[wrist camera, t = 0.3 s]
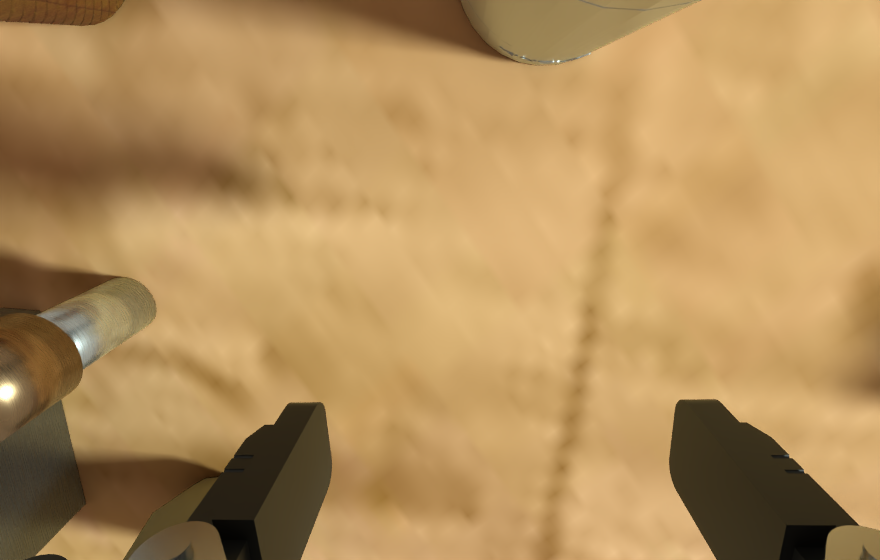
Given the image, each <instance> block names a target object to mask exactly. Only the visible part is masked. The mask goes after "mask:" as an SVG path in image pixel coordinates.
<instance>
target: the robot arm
mask: <svg viewBox="0 0 880 560" xmlns="http://www.w3.org/2000/svg"><path fill="white" fill-rule="evenodd" d="M699 1H701V0H461V3H462V6H463V9H464V11H465V13H466V15H467V17H468V19H469V21H470V22H471V24H472V26H473V28H474V29H475V30H476V31H477V33H478V34H479V35H480V36H481V37H482V38H483V40H484V41H485V42H486V43H487V44H488V45H490V46H491V47H492V48H494V49H495V50H496V51H498V52H499V53H500V54H502V55H504V56H506V57H509V58H511V59H513V60H515V61H518V62H521V63H527V64H532V65H557V64H560V63H564V62H568V61H572V60H575V59H578V58H581V57H583V56H586V55H588V54H591V52H592V51H594V50H597V49H599V48H601V47H603V46H606V45H608V44H610V43H612V42H614V41H616V40H618V39H620V38H623V37H625V36H627V35H629V34H631V33H633V32H635V31H637V30H639V29H642V28H644V27H646V26H648V25H650V24H652V23H654V22H656V21H659V20H661V19H663V18H665V17H667V16H669V15H671V14H673V13H675V12H678V11H680V10H682V9H684V8H686V7H688V6H690V5H692V4H694V3H697V2H699ZM669 466H670V474H671V478H672V481H673V484H674V487H675V489H676V491H677V493H678V494H679V496H680V498H681V499H682V501H683V503H684V504H685V506H686V508H687V510H688V511H689V513H690V515H691V516H692V518H693V520H694V522H695V523H696V525H697V527H698V528H699V530H700V532H701V534H702V535H703V537H704V539H705V540H706V542H707V544H708V545H709V547H710V549H711V551H712V552H713V554H714V556H715V557H716V559H717V560H880V531H879V530H876V529H872V528H868V527H863V526H859V525H858V524H857V523H856V522H855V521H854V520H853V519H852V518H851V517H850V516H849V515H848V514H847V513H846V512H845V511H844V510H843V509H842V508H841V507H840V506H839V505H838V504H837V503H836V502H835V501H834V500H833V499H832V498H831V497H830V496H829V495H828V494H827V493H826V492H825V491H824V490H823V489H822V488H821V487H820V486H819V485H818V484H817V483H816V482H815V481H814V480H813V479H812V478H811V477H810V475H809V474H805V473H804V469H803V468H802V467H801V466H800V465H799V464H798V463H797V462H796V461H795V460H794V459H793V458H789V454H788V453H787V452H786V451H785V450H784V449H783V448H782V447H781V446H780V445H779V444H778V443H777V442H776V441H775V440H774V439H773V438H772V437H770V436H768V435H767V434H765V433H763V432H762V431H760V430H758V429H757V428H755V427H753V426H751V425H750V424H748V423H740V422H739V421H738V420H737V419H736V418H735V417H734V416H733V415H732V414H731V413H730V412H729V411H728V410H727V409H726V407H725V406H724V405H723V404H722V403H721V402H720V401H718V400H715V399H707V400H679V401H678V402H677V404H676V407H675V414H674V423H673V431H672V440H671V449H670V457H669ZM331 472H332V458H331V450H330V442H329V435H328V427H327V420H326V412H325V408H324V405H323V404H322V403H321V402H313V403H289V404H287V406H286V407H285V409H284V410H283V412H282V413H281V415H280V416H279V418H278V419H277V421H276V422H275V424H274V425H264V426H263V427H261V428H260V429H259V430H257V431H256V432H255V433H253V434H252V435H250V436H249V437H248V438H246V440H245V441H244V442H243V444H242V445H241V447H240V448H239V449H238V451H237V452H236V453H235V455H234V458H232V459H231V460H230V462H229V463H228V465H227V466H226V467H225V470H224V472H222V473H221V474H220V476H219V477H218V478H217V480H216V481H215V483H214V484H213V485H212V487H211V488H210V490H209V491H208V492H207V494H206V495H205V497H204V498H203V499H202V501H201V502H200V504H199V505H198V506H197V508H196V509H195V510H194V512H193V513H192V515H191V516H190V517H189V519H188V520H187V522H184V523H180V524H176V525H173V526H171V527H168V528H166V529H164V530H162V531H160V532H158V533H157V534H155V535H153V536H152V537H150V538H149V539H147V540H146V541H145V542H144V543H143V544H141V545H140V546H139V547H138V548H137V549H136V550H135V551H134V552H133V554H132V555H131V556H130V558H129V559H128V560H301V557H302V554H303V552H304V549H305V547H306V544H307V542H308V539H309V536H310V534H311V531H312V529H313V526H314V524H315V521H316V518H317V516H318V513H319V511H320V508H321V506H322V503H323V500H324V498H325V495H326V493H327V490H328V487H329V484H330V479H331ZM25 560H67V559H66V558H64V557H62V556H60V555H55V554H47V555H39V556H35V557H31V558H28V559H25Z"/></svg>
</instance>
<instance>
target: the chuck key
mask: <svg viewBox="0 0 880 560" xmlns="http://www.w3.org/2000/svg"><path fill="white" fill-rule="evenodd" d="M155 316H156V303H155V300H154V298H153V296H152V294H151V293H150V292H149V290H148V289H147V288H146V287H145V286H144V285H142V284H141V283H139V282H138V281H136V280H133V279H130V278H125V277H118V278H114V279H111V280H109V281H107V282H105V283H103V284H101V285H99V286H96V287H94V288H92V289H90V290H88V291H86V292H84V293H82V294H80V295H77V296H75V297H73V298H71V299H69V300H67V301H65V302H63V303H61V304H58V305H56V306H54V307H52V308H50V309H48V310H46V311H44V312H42V313H39V314H37V315H33V314H27V313H13V314H9V315H5V316H3V317H1V318H0V442H2V441H3V440H5V439H6V438H7V437H9V436H10V435H12V434H13V433H14V432H16V431H17V430H19V429H20V428H22V427H23V426H24V425H26V424H27V423H29V422H30V421H31V420H33V419H34V418H36V417H37V416H38V415H40V414H41V413H43V412H44V411H45V410H47V409H48V408H50V407H51V406H52V405H54V404H55V403H57V402H58V401H59V400H61V399H62V398H64V397H65V396H67V395H68V394H69V393H71V392H72V391H73V390H74V389H75V388H76V387H77V386H78V384H79V383H80V381H81V378H82V373H83V369H85V368H86V367H88V366H89V365H91V364H92V363H94V362H95V361H97V360H98V359H99V358H101V357H102V356H104V355H105V354H107V353H108V352H110V351H111V350H113V349H114V348H116V347H117V346H119V345H120V344H122V343H123V342H125V341H126V340H128V339H129V338H131V337H132V336H134V335H135V334H137V333H138V332H140V331H141V330H143V329H144V328H145V327H147V326H148V325H150V324H151V323H152V322H153V320H154V318H155Z"/></svg>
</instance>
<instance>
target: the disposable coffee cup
mask: <svg viewBox="0 0 880 560" xmlns="http://www.w3.org/2000/svg"><path fill="white" fill-rule="evenodd" d="M123 2H124V0H0V21H6V22H29V23H46V24H49V23H50V24H64V25H69V24H70V25H79V26H85V25H95V24H98V23H101V22H104V21H105V20H107V19H108V18H110V17H111V16H113V15H114V13H115V12H116V11H117V10H118V9H119V8H120V7H121V5H122V3H123Z"/></svg>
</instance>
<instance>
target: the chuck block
mask: <svg viewBox="0 0 880 560" xmlns="http://www.w3.org/2000/svg"><path fill="white" fill-rule="evenodd" d="M13 313H27V314H33V315H37V314H39V313H40V311H35V310H23V309H11V308H0V318H1V317H3V316H5V315H9V314H13ZM85 504H86V503H85V499H84V495H83V490H82V486H81V482H80V478H79V474H78V469H77V465H76V461H75V457H74V452H73V448H72V444H71V440H70V436H69V431H68V427H67V423H66V419H65V414H64V410H63V406H62V402H61V400H59V401H58V402H57V403H55V404H54V405H52V406H51V407H50V408H48V409H47V410H45V411H44V412H43V413H41V414H40V415H38V416H37V417H36V418H34V419H33V420H31V421H30V422H29V423H27V424H26V425H24V426H23V427H22V428H20V429H19V430H17V431H16V432H14V433H13V434H12V435H10V436H9V437H7V438H6V439H5V440H3V441H2V442H0V560H25V559H28V558H31V557H34V556H35V555H36V554H37V553H38V552H39V551H40V550H41V549H42V548H43V547H44V546H45V545H46V544H47V543H48V542H49V541H50V540H51V539H52V538H53V537H54V536H55V535H56V534H57V533H58V532H59V531H60V530H61V529H62V528H63V527H64V526H65V525H66V523H67V522H68V521H69V520H70V519H71V518H72V517H73V516H74V515H75V514H76V513H77V512H78V511H79V510H80V509H81V508H82V507H83V506H84V505H85Z"/></svg>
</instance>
